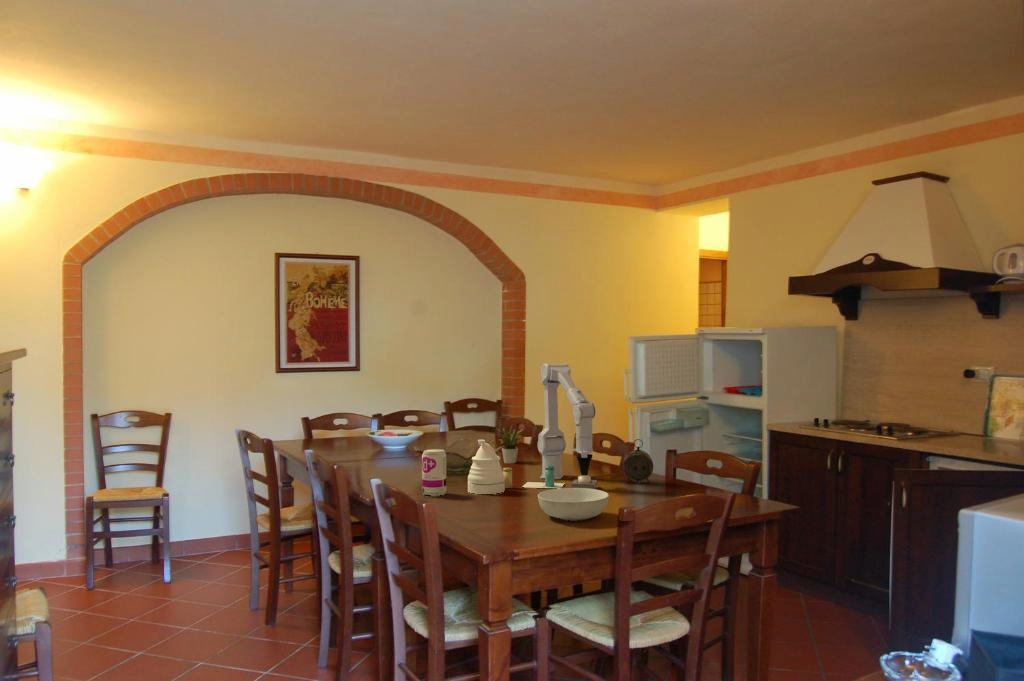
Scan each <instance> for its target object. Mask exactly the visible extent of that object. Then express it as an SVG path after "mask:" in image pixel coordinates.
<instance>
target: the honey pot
mask: <svg viewBox="0 0 1024 681" xmlns="http://www.w3.org/2000/svg"><path fill="white" fill-rule="evenodd" d="M477 442H478V445H479V446H480V447H479V448H478V449H477V451H476V454H475V455H474V456H472V457H471V460H472V465H471V466H470V470H469V474H468V475H467V493H469V492H470V493H469V494H471V493H475V494H474V495H477V494H494V495H497V494H496V493H500V494H502V493H501V492H503V493H504V491H506V489H505V482H504V481H505V480H504V474H503V468H502V465H501V464H500V461H501V457H500V456H499V455H497V454H496V451H495V449H494V448H493V446H492V445H491V444H489V443H487V442H486V440H485V439H477Z"/></svg>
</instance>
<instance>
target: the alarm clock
mask: <svg viewBox="0 0 1024 681" xmlns="http://www.w3.org/2000/svg"><path fill="white" fill-rule="evenodd" d="M636 441H640V442H641V446H636V445H635V442H636ZM643 445H644V442H643V440H642V439H639V438H636V439H635V440H634V441H633V447H635V448H636V449H633V450H631V451H629V452H627V454H626V455H625V456H624V457H623V460H622V468H623V471H624V474H625V476H626V477H627V478H626V480H625V483H627V482H628V481H629V480H631V481H634V482H636V484H637V485H639V484H640V482H643V481H645V480H646V481H647V482H648V483H649V484H650V483H651V481H650V479H649V477H651V476H652V474H653V471H654V462H653V459H652V457H651V456H650V454H649V453H648V452H646V451H644V450H641V448H642V447H643Z"/></svg>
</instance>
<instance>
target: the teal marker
mask: <svg viewBox="0 0 1024 681" xmlns="http://www.w3.org/2000/svg"><path fill="white" fill-rule="evenodd" d="M544 483H545V486H546V487H554V483H555V479H554V466H545V478H544Z"/></svg>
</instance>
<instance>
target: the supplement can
mask: <svg viewBox="0 0 1024 681" xmlns="http://www.w3.org/2000/svg"><path fill="white" fill-rule="evenodd" d="M421 492H422V493H421V494H422V495H424V494H430V495H431V496H430V497H441V496H440V495H442V496H445V494H446V493H447V453H446V452H445V450H444V449H443V448H442V449H440V448H430V449H424V450H423V453H422V455H421Z"/></svg>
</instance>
